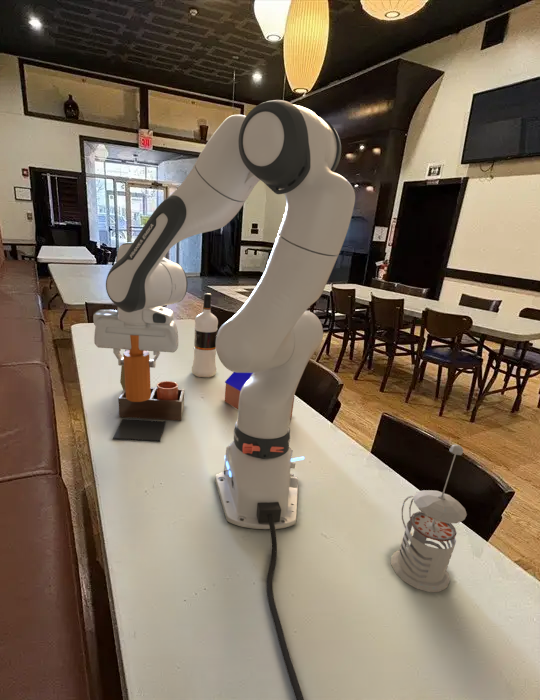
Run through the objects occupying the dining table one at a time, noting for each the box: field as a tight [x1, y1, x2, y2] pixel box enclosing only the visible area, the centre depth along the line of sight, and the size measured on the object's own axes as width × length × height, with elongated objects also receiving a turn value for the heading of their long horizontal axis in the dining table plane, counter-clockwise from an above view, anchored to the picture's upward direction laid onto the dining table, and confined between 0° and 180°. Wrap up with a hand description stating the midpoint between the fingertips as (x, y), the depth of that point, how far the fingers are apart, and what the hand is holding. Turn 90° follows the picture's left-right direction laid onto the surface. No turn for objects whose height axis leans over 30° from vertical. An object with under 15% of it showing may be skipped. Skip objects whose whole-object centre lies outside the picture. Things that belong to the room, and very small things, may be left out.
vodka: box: [191, 292, 219, 378], centre depth 150 cm, size 9×9×30 cm
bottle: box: [122, 335, 151, 402], centre depth 104 cm, size 6×6×17 cm
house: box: [224, 372, 296, 419], centre depth 128 cm, size 12×20×12 cm, turn 38°
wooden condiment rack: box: [118, 386, 186, 422], centre depth 121 cm, size 9×18×6 cm, turn 92°
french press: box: [390, 444, 468, 593], centre depth 69 cm, size 10×12×25 cm
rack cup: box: [156, 380, 179, 400], centre depth 121 cm, size 6×6×9 cm
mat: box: [112, 418, 166, 443], centre depth 111 cm, size 11×12×1 cm
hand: (137, 365), depth 105 cm, fingers closed on bottle, 6 cm apart
